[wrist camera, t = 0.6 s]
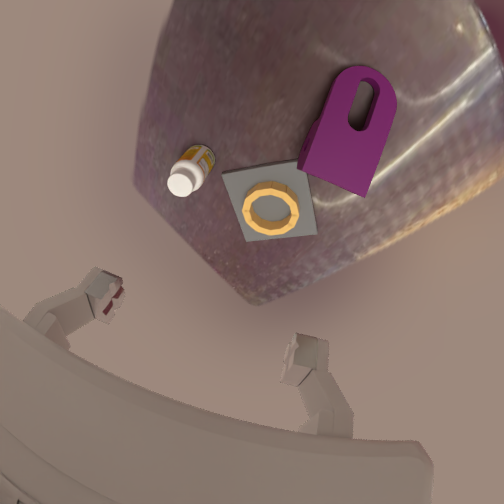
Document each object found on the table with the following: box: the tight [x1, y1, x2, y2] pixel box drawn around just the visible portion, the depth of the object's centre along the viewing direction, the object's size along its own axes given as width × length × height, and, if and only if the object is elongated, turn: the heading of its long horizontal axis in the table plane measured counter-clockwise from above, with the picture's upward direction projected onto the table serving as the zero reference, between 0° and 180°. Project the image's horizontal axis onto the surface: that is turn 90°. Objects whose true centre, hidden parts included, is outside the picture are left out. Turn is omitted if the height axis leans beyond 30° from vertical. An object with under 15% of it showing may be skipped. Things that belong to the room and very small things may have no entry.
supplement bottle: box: [168, 145, 215, 197], centre depth 43 cm, size 5×5×10 cm
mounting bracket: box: [297, 66, 397, 198], centre depth 37 cm, size 10×8×18 cm
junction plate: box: [222, 159, 318, 242], centre depth 49 cm, size 15×14×4 cm
